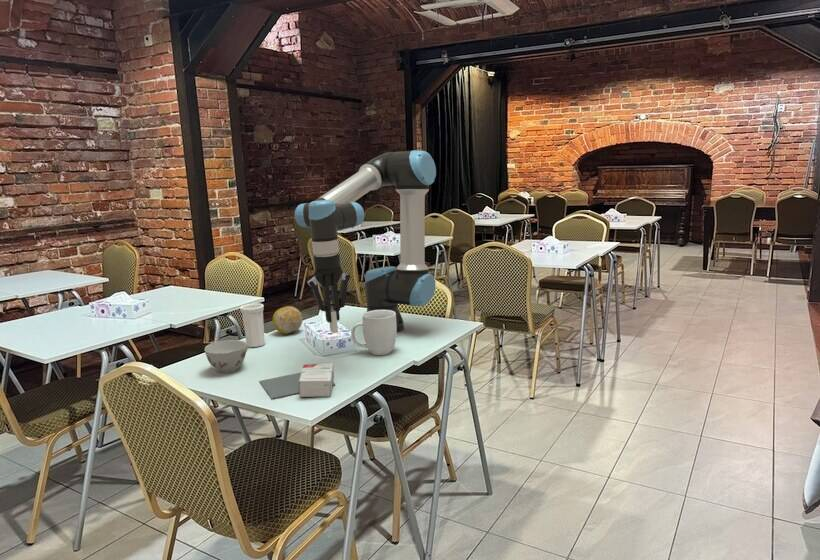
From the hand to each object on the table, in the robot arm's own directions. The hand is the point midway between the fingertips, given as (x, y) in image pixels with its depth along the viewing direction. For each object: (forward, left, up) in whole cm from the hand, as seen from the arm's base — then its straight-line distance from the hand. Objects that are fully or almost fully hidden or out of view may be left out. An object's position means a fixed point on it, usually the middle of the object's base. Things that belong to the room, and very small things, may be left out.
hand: (334, 331), depth 173 cm
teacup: (+28, -20, -13) cm, 37 cm away
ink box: (+7, +6, -9) cm, 13 cm away
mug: (-17, -8, -13) cm, 23 cm away
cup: (+16, -40, -12) cm, 45 cm away
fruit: (+2, -48, -13) cm, 50 cm away
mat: (+14, +4, -12) cm, 19 cm away
